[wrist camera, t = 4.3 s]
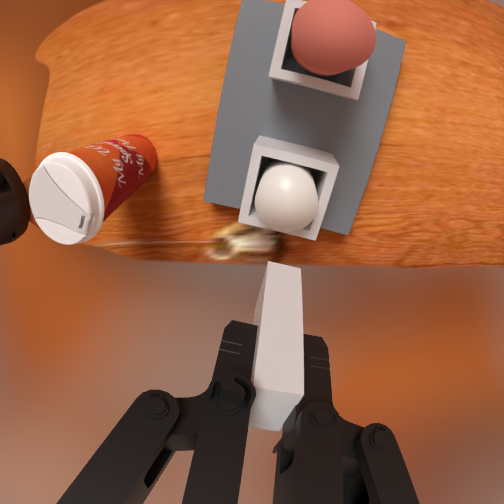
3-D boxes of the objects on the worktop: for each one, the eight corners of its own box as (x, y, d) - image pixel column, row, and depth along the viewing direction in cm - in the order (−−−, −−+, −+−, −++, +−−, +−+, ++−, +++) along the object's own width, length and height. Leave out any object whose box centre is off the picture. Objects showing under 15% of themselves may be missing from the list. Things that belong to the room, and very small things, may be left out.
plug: (257, 195, 31) (249, 224, 25) (268, 148, 28) (262, 165, 22) (305, 206, 31) (308, 238, 25) (318, 161, 28) (326, 182, 22)
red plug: (285, 67, 21) (284, 58, 15) (297, 14, 18) (300, -12, 12) (345, 83, 21) (366, 81, 15) (358, 31, 18) (382, 12, 12)
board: (210, 191, 34) (189, 220, 28) (246, 5, 23) (233, -19, 16) (344, 223, 34) (356, 259, 28) (396, 44, 23) (426, 34, 16)
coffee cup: (177, 144, 32) (106, 186, 19) (150, 201, 36) (84, 266, 23) (120, 113, 30) (31, 140, 17) (98, 170, 34) (19, 220, 21)
